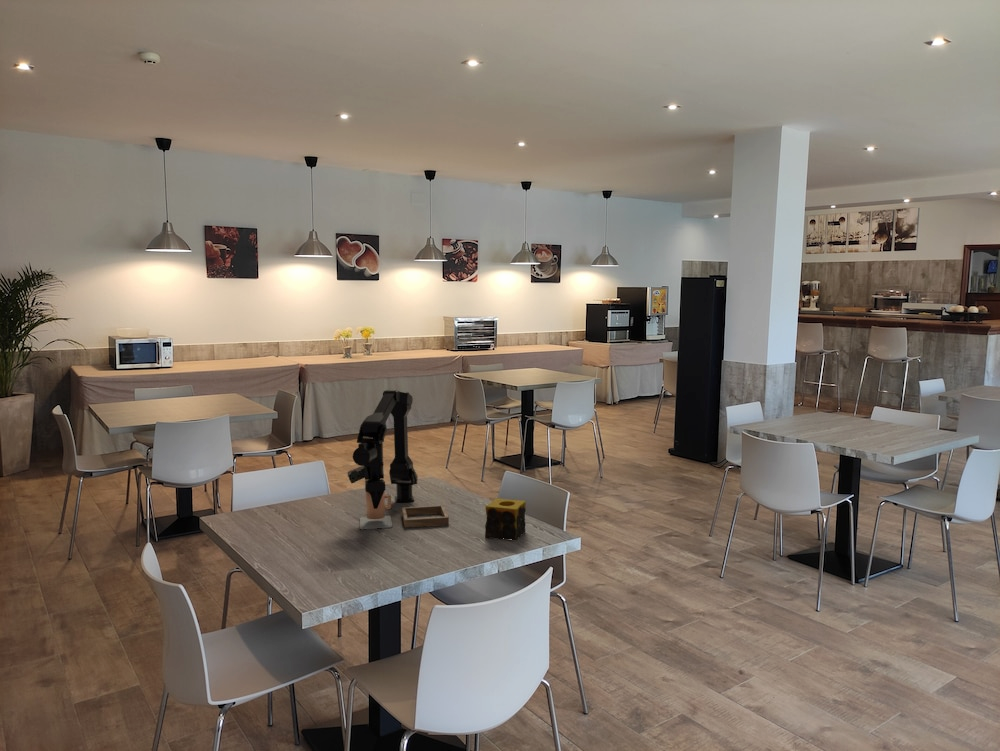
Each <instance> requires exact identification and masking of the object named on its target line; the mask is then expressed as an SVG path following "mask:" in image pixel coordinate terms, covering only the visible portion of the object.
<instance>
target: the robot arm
mask: <svg viewBox="0 0 1000 751" xmlns="http://www.w3.org/2000/svg"><path fill="white" fill-rule="evenodd" d="M413 401H414V400H413V395H411V394H410V392H408V391H399V390H397V389H385V390H383V392H382V397H381V399H380V401H379V402H378V404H377V406H376V408H375V409H374V410H373V413H372V414H370V415H368V416H366V417H365V418H364V420H363V421H362V423H361V424H360V428H359V430H358V435H357V440H356V443H357V444H358V446H357V448H355V450H354V451H353V453H352V460H353V462H354V463H355V464H356V465H357V466H358V467H356V468H354V469H351V470H348V471H347V477H348V480H349V481H350V484H355V483H357V482H358V481H360V480H362V479H364V485H365V486H364V488H365V490H364V491H365V493H366V492H368V493H369V494H370V495H371V498H372V503H373V507H374V509H377V508H378V506H379V503H380V500H381V498H382V495H383V493H384V494H385V491H386V482H385V481H384V478H385V474H384V442H385V437H386V433H387V431H388V428H387V421H388V419H389V416H390V415H391V416H392V417H393V437H394V439H393V440H394V442H393V443H394V458H393V460H392V462H390V465H389V468H390V469H389V472H388V474H389V478H390V484H391V485H396V487H395V488H396V495H395V497H394V500H395V503H406V502H407V503H408V502H410V503H411V502H415V499H414V498H415V497H414V495H413V486H414V485H418V479H419V478H418V474H417V471H416V470H415V469H414V463H413V461H412V459H411V458H410V456H409V441H408V440H409V439H408V438H409V437H408V435H409V434H408V415H409V413H410V411H411V409H412V404H413Z"/></svg>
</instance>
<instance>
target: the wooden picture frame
mask: <svg viewBox="0 0 1000 751" xmlns="http://www.w3.org/2000/svg"><path fill="white" fill-rule="evenodd" d="M438 513H439V514H441V516H435V517H433V516H432V517H421V518H418V517H417V518H408V516H418V515H421V514H423V515H435V514H436V515H437V514H438ZM439 514H438V515H439ZM401 515H402V516H401V517H402V521H403V526H404V528H405V529H407V528H406V527H411V528H419V527H420V528H421V527H422V528H423V526H426V527H437V526H440V525H441V526H449V525H450V524H449V523H450V520H449V515H448V512H447V511H446V508H445V506H444V505H443V504H440V505H425V506H424V505H422V506H409V507H408V506H407V507H401Z"/></svg>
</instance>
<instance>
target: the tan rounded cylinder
mask: <svg viewBox="0 0 1000 751" xmlns="http://www.w3.org/2000/svg"><path fill="white" fill-rule="evenodd" d="M385 499H387V505H386V504H385V503H386V502H385V501H386V500H385ZM390 509H392V495H391V494H385V492H384V493H383V495H382V498H381V500H380V503H379V506H378V508H377V509H374V507H373V503H372V498H371V495H370V494H369V493H368V492H366V491H365V517H366V518H368V519H381V518H384V517H385V516H386V510H390Z"/></svg>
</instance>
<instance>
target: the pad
mask: <svg viewBox="0 0 1000 751" xmlns="http://www.w3.org/2000/svg"><path fill="white" fill-rule="evenodd" d="M377 528H382V529H392V528H393V524H392V518H391V515H385V517H384V518H381V519H368V518H366V516H364V517H363V516H362V517H359V530H360V529H361V530H360V531H363V529H367V530H378V529H377Z"/></svg>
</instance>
